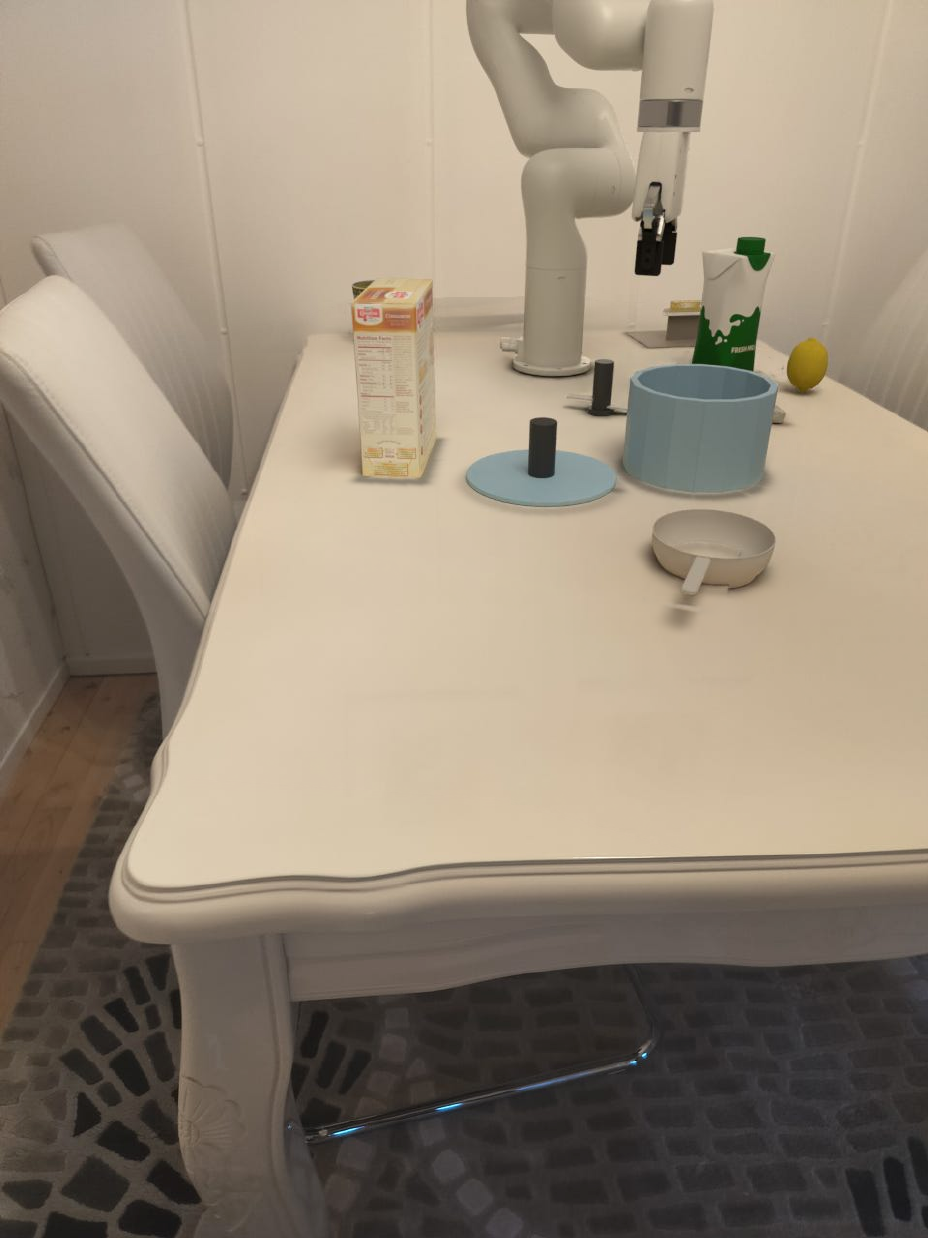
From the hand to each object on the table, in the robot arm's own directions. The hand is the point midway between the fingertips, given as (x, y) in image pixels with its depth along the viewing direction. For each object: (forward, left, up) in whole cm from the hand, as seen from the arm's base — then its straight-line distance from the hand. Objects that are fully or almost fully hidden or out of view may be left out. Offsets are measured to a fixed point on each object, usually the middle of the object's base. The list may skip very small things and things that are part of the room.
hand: (654, 269), depth 115 cm
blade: (-5, -3, -18) cm, 19 cm away
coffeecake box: (-22, -31, -19) cm, 42 cm away
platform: (-3, +48, -19) cm, 51 cm away
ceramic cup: (-52, +23, -19) cm, 60 cm away
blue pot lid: (-4, -32, -18) cm, 37 cm away
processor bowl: (+11, -22, -18) cm, 31 cm away
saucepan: (+17, -50, -19) cm, 56 cm away
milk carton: (+7, +26, -19) cm, 33 cm away
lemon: (+20, +18, -19) cm, 33 cm away
